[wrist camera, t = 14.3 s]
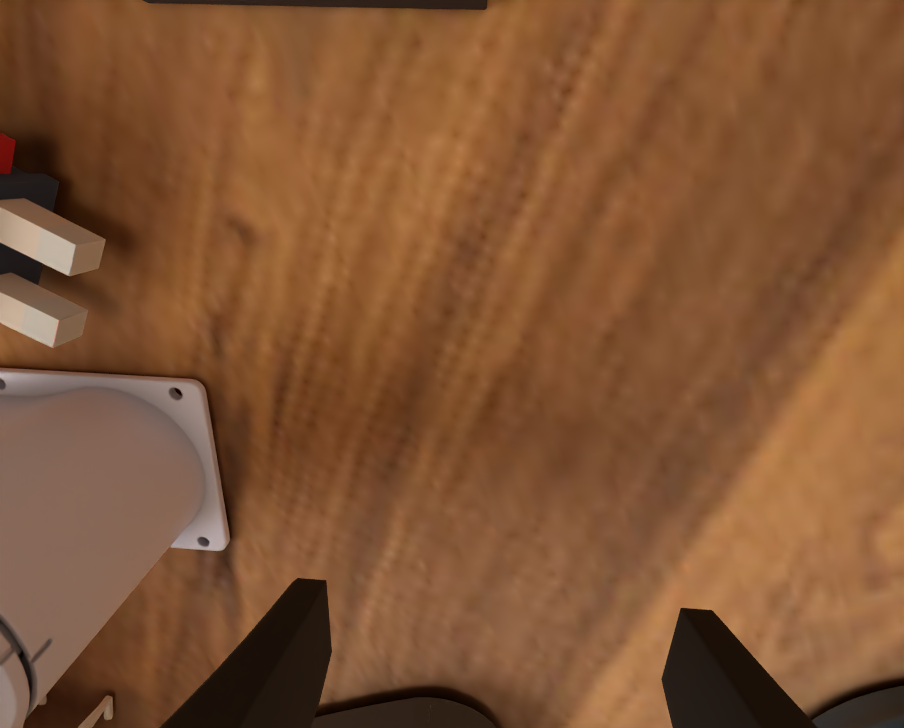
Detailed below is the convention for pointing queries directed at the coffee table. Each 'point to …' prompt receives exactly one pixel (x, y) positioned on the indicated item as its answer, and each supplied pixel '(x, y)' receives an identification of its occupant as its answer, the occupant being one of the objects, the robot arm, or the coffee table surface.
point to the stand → (347, 3)
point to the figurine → (39, 254)
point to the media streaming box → (407, 715)
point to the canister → (867, 711)
